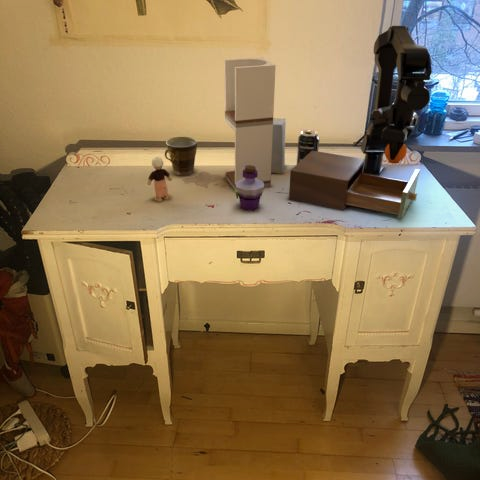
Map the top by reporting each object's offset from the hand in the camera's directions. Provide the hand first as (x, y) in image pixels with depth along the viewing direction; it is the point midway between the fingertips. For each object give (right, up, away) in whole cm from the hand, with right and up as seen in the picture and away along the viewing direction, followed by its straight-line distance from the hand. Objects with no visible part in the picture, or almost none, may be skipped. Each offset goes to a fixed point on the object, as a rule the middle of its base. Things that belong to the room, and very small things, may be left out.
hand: (394, 156), depth 152 cm
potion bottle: (-42, -14, +2) cm, 44 cm away
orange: (0, -1, +1) cm, 2 cm away
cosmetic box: (-33, +3, +25) cm, 42 cm away
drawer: (-3, -12, +3) cm, 13 cm away
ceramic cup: (-64, +1, +22) cm, 68 cm away
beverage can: (-22, +3, +26) cm, 34 cm away
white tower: (-42, -3, +16) cm, 45 cm away
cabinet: (-18, -8, +10) cm, 22 cm away
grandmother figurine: (-68, -11, +6) cm, 70 cm away
